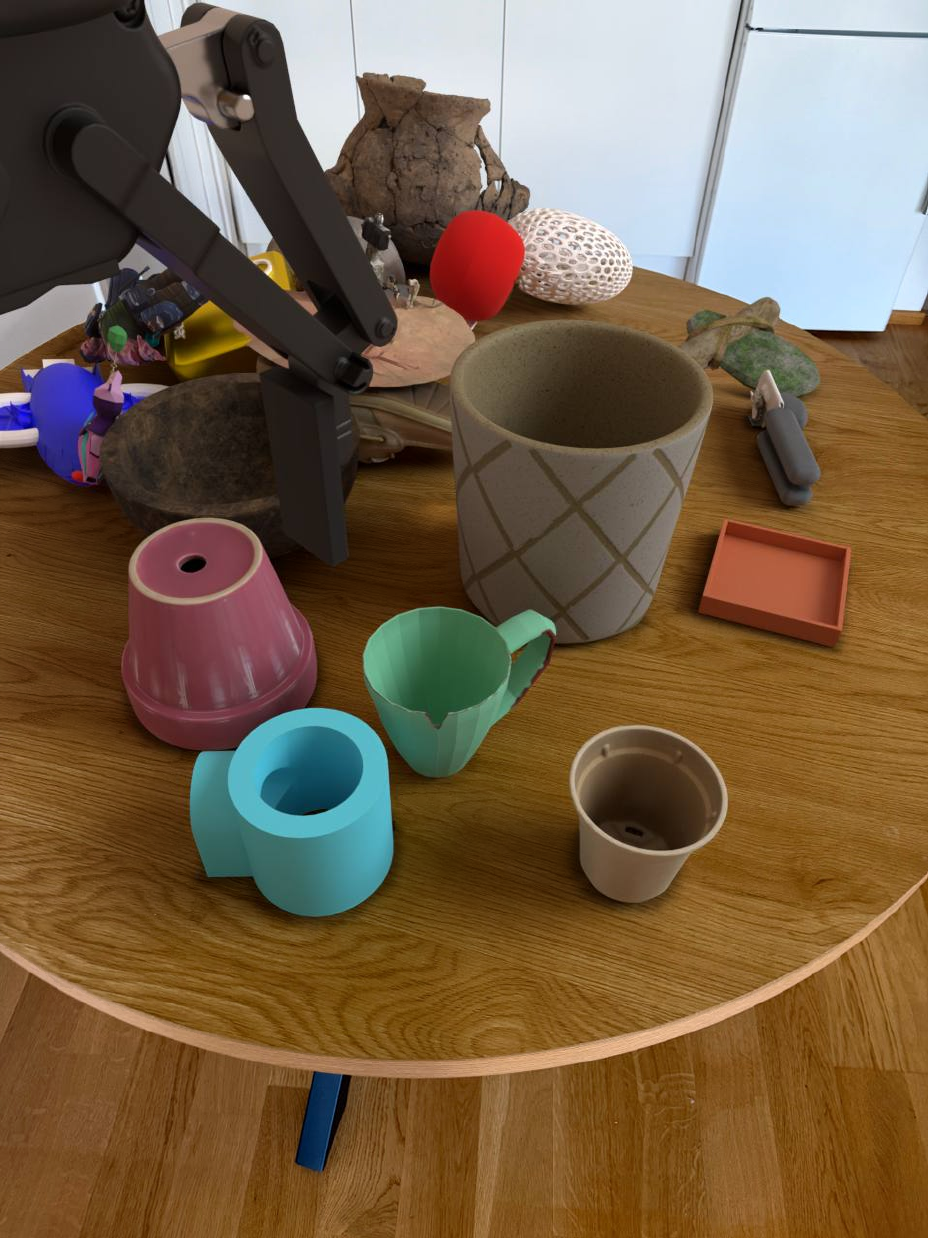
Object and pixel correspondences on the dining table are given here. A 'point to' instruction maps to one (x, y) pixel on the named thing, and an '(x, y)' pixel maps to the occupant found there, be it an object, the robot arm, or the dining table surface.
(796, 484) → the can opener
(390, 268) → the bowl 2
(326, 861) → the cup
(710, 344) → the stone axe
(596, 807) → the flower pot
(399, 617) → the mug
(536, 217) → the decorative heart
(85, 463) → the toy
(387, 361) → the sculpture
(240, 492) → the bowl
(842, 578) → the pot tray
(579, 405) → the planter
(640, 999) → the dining table surface
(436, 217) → the clay pot
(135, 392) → the toy airplane
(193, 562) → the flower pot
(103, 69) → the robot arm
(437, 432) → the boat shoe
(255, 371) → the element tile
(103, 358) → the action figure
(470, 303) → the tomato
